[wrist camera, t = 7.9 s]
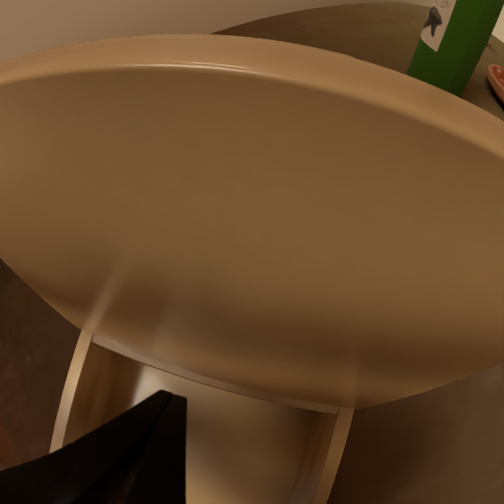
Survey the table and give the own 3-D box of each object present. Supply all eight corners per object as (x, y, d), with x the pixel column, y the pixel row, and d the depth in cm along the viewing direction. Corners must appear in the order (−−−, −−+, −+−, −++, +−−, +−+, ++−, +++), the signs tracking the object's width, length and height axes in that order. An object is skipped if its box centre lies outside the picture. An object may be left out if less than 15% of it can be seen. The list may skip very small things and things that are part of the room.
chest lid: (643, 267, 1) (547, 99, 4) (-99, 117, 3) (14, 25, 5) (358, 409, 12) (370, 323, 15) (76, 327, 14) (111, 256, 16)
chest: (277, 550, 13) (286, 592, 8) (83, 488, 15) (41, 507, 9) (327, 398, 18) (356, 401, 13) (122, 340, 20) (83, 322, 14)
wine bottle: (396, 65, 36) (444, -108, 7) (439, 74, 37) (492, -78, 7) (424, 99, 33) (492, -97, 3) (467, 108, 33) (539, -58, 4)
